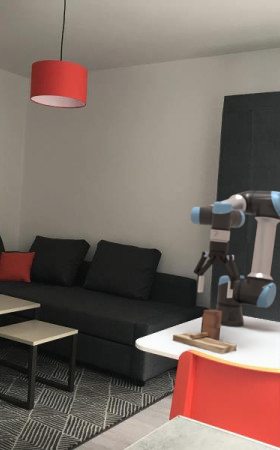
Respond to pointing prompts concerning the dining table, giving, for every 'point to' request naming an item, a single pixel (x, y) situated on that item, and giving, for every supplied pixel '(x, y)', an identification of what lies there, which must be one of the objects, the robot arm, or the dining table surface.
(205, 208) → the robot arm
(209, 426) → the dining table surface
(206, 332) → the wooden mallet
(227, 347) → the board
